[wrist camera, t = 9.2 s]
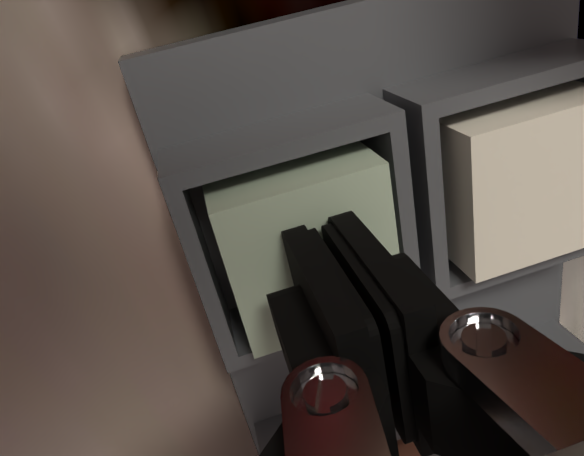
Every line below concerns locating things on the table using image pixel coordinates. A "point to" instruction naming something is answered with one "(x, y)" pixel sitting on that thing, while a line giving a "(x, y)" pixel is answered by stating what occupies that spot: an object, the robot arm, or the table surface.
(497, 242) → the ivory key
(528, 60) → the keypad
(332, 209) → the sage key
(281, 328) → the robot arm
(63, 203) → the table surface
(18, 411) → the table surface
